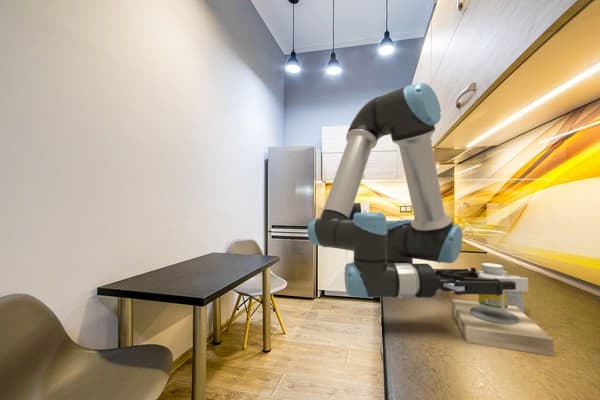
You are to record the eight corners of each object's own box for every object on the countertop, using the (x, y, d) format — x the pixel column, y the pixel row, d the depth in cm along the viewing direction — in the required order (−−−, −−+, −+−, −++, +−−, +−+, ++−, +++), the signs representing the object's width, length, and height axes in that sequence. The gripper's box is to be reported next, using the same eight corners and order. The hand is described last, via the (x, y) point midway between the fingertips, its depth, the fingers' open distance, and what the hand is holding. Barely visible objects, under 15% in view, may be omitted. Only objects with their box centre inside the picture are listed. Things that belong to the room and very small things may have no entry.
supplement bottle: (491, 312, 58) (490, 267, 58) (473, 303, 63) (472, 262, 63) (514, 311, 58) (513, 267, 59) (494, 302, 64) (493, 262, 64)
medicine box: (524, 317, 67) (523, 282, 67) (501, 313, 70) (500, 279, 70) (522, 307, 73) (521, 276, 74) (501, 304, 76) (501, 273, 76)
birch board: (452, 310, 72) (452, 297, 72) (516, 318, 66) (515, 304, 66) (466, 342, 55) (466, 325, 55) (553, 355, 50) (553, 337, 50)
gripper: (399, 285, 70) (489, 285, 70) (431, 312, 52) (553, 313, 51) (399, 256, 71) (488, 256, 70) (431, 273, 52) (552, 273, 52)
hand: (515, 280), depth 61 cm, fingers closed on supplement bottle, 5 cm apart
